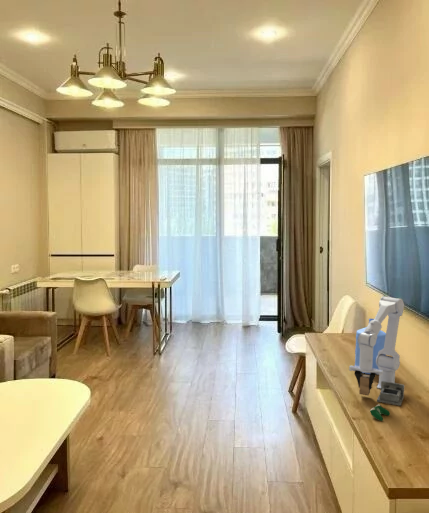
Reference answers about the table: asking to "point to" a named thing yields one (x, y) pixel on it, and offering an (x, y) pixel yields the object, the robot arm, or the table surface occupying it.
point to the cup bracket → (391, 393)
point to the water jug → (376, 348)
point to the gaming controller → (379, 412)
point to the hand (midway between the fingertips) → (364, 387)
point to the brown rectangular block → (364, 385)
